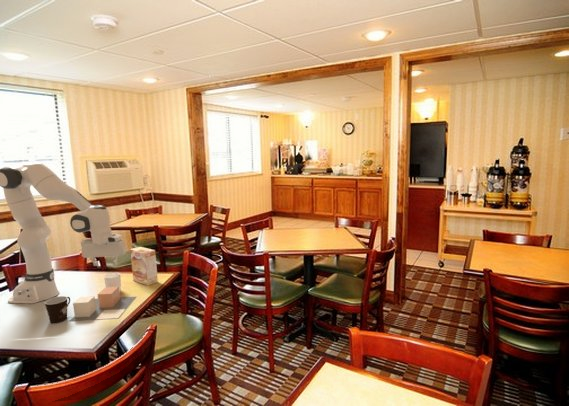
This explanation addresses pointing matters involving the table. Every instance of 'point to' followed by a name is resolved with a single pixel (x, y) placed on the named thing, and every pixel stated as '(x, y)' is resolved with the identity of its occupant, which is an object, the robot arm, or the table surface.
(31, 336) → the table surface
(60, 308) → the coffee mug
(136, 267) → the coffeecake box
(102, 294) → the salmon rectangular box
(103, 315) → the mat
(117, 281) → the white cup
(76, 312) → the pale beige cube
